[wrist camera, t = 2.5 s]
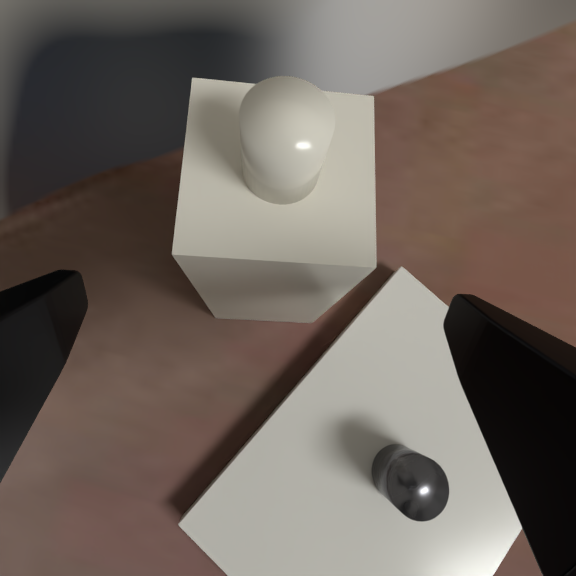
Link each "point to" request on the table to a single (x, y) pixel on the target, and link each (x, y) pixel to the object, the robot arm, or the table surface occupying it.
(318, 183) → the white knobbed block
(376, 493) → the stone board
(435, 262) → the table surface
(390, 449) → the metal post
